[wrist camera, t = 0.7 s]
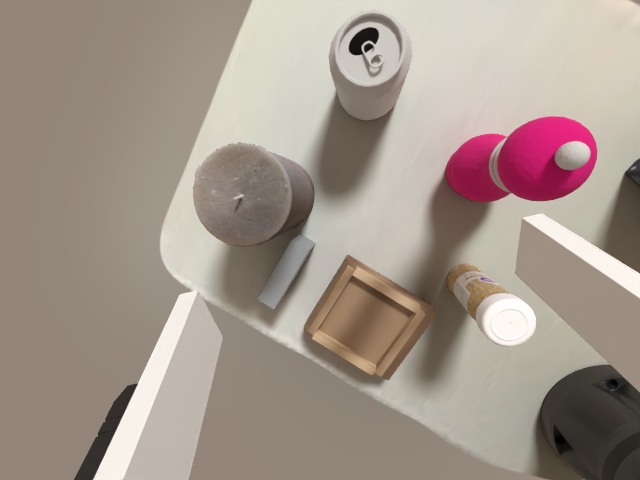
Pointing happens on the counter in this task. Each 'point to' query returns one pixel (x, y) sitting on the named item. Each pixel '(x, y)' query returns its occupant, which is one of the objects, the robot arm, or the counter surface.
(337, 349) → the socket block
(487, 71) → the counter surface
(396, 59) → the can
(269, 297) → the backstop wall
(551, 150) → the pepper mill
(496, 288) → the sprinkles bottle
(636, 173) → the small box
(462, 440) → the counter surface
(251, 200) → the pillar candle
